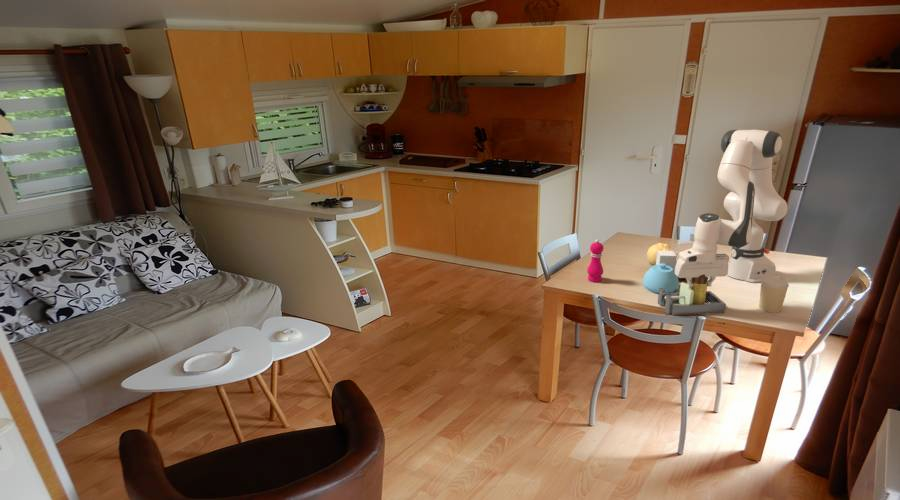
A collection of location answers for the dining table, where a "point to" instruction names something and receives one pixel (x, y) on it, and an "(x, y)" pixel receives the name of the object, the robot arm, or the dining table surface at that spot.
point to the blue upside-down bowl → (661, 279)
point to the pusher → (684, 294)
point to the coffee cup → (772, 294)
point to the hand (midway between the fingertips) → (699, 286)
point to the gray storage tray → (686, 309)
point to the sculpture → (653, 252)
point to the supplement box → (666, 258)
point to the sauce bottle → (699, 289)
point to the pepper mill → (595, 262)
